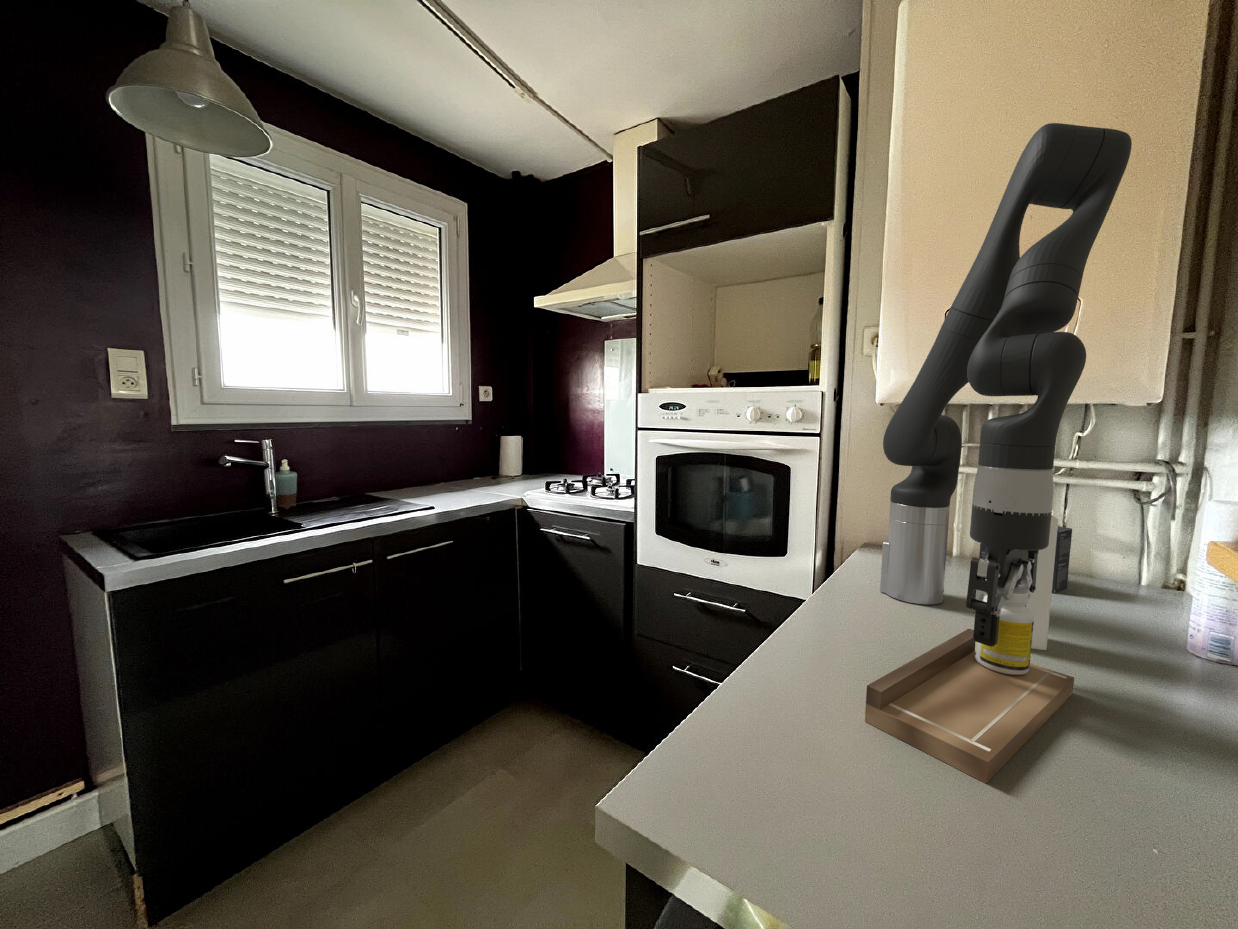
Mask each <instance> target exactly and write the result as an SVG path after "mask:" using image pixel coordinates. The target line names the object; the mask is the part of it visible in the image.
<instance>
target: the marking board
mask: <svg viewBox="0 0 1238 929" xmlns="http://www.w3.org/2000/svg"><path fill="white" fill-rule="evenodd" d="M973 634H974V629H971V628H967V629H965V630H964V631H961V632H960V633H958V634H956V635H955V636H953V637H951V638H949V639H948V640H946V641H943V642H942V643H941V644H938V645H937V646H935V647H933V648H932V649H930V650H928V651H926V652H924V653H923V654H921V655H918V656H917V657H915V658H913V659H912V660H910V661H908V662H906V663H905V664H903V665H901V666H899V667H897V668H896V669H894V670H892V671H891V672H888V673H887V674H885V675H883V676H881V677H879V678H878V679H876V680H874V681H873V682H870V683H869V684H867V685H866V694H865V712H864V722H865V723H867V724H869V725H871V726H873V727H875V728H877V729H879V730H881V731H883V732H884V733H886V734H888V735H891V736H892V737H894V738H897V739H898V740H900V741H903V742H904V743H906V744H908V745H910V746H913V747H914V748H916V749H918V750H920V751H922V752H924V753H926V754H927V755H929V756H932V757H933V758H936V759H937V760H939V761H941V762H943V763H946V764H947V765H949V766H951V767H953V768H955V769H957V770H959V771H961V772H963V773H965V774H966V775H969V776H971V777H973V778H975V779H977V780H979V781H980V782H982V783H985V784H988V783H989V782H990V780H991V779H993V778H994V777H995V775H996V774H997V773H998V772H999V771H1000V770H1001V769H1002V768H1003V767H1004V766H1006V764H1007V763H1008V762H1009V761H1010V760H1011V759H1012V757H1013V756H1015V754H1016V753H1017V752H1019V750H1021V749H1022V747H1023V746H1024V745H1025V744H1026V743H1027V742H1028V741H1029V740H1030V739H1032V737H1033V736H1034V735H1035V734H1036V732H1037V731H1038V730H1039V729H1040V728H1041V727H1042V726H1043V725H1044V724H1046V723H1047V722H1048V720H1049V719H1050V718H1051V717H1052V716H1053V715H1054V713H1056V712H1057V710H1059V709H1060V707H1062V706H1063V704H1065V703H1066V702H1067V701H1068V699H1069V698H1070V697H1071V696H1072V695H1073V694H1074V687H1075V686H1074V685H1075V677H1074V676H1071V675H1068V674H1065V673H1062V672H1059V671H1056V670H1053V669H1050V668H1046V667H1044V666H1043V667H1042V666H1040V665H1037V664H1034V663H1032V662H1030V667H1029V671H1028V673H1026V674H1023V675H1011V674H1004V673H1000V672H996V671H993V670H991V669H988V668H986V667H984V666H983V665H981V664H980V663H978V662H977V661H976V659H975V642H976V641H975V640H974V638H973Z"/></svg>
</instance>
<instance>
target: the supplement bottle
mask: <svg viewBox="0 0 1238 929" xmlns="http://www.w3.org/2000/svg"><path fill="white" fill-rule="evenodd" d="M1028 596H1029V592H1028V591H1027V590H1025V589H1023V588H1020V587H1016V588H1014V590H1013V593H1012V596H1011V599H1010V600H1006V601H1004V603H1003V606H1002V609H1001V613H1000V615H999V616H1000V619H999V630H998V641H997V644H996V645H994V646H992V647H991V646H988V645H984V644H981V643H978V642H975V659H976V661H977V662H978V663H980V664H981V665H983V666H984V667H986V668H988V669H991V670H993V671H996V672H1000V673H1004V674H1011V675H1023V674H1026V673H1028V671H1029V667H1030V663H1031V655H1032V649H1031V646H1032V635H1033V625H1034V615H1033V613H1032V612H1031V611H1030V610H1029V609H1028V608H1026V607H1025V605H1026V604H1027V603H1028ZM984 602H987V600H985V601H984Z"/></svg>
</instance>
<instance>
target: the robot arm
mask: <svg viewBox="0 0 1238 929" xmlns="http://www.w3.org/2000/svg"><path fill="white" fill-rule="evenodd" d="M1131 152H1132V137H1131V136H1130V134H1129V133H1127V132H1126V131H1123V130H1119V129H1115V128H1107V127H1095V126H1085V125H1080V124H1079V125H1077V124H1070V123H1059V122H1050V123H1049V122H1048V123H1046V124H1043V125H1042V126H1041V127H1040V128H1039V129H1037V130H1036V131H1035V133H1034V134H1032V136H1031V137H1030V139H1029V141H1028V142H1027V144H1026V145H1025V148H1024V149H1023V151H1022V152H1021V154H1020V157H1019V159H1018V160H1017V162H1016V165H1015V167H1014V169H1013V172H1012V174H1011V176H1010V178H1009V181H1008V184H1006V185H1007V186H1006V188H1005V189H1004V193H1003V195H1002V197H1001V199H1000V202H999V204H998V207H997V209H996V212H995V214H994V217H993V219H992V222H991V223H990V225H989V228H988V231H987V234H986V236H985V238H984V240H983V243H982V244H981V246H980V250H978V253H977V255H976V258H975V259H974V261H973V263H972V265H971V267H970V269H969V271H968V273H967V275H966V277H965V279H964V281H963V282H962V284H961V286H960V288H959V290H958V292H957V294H956V296H955V298H954V300H953V302H952V304H951V306H950V308H949V310H948V311H947V314H946V316H945V318H944V320H943V323H941V326H940V329H939V331H938V333H937V336H936V338H935V340H934V343H933V345H932V346H931V349H930V350H929V352H928V355H927V356H926V358H925V359H924V362H923V364H922V367H921V368H920V370H919V372H918V374H917V375H916V377H915V379H914V381H913V383H912V385H911V386H910V388H909V390H908V391H907V393H906V394H905V396H904V398H903V400H902V401H901V403H900V404H899V405H898V407H897V409H896V411H895V412H894V414H893V415H892V417H891V419H890V421H889V423H888V425H887V427H886V429H885V432H884V434H883V440H882V445H883V446H882V447H883V451H884V452H883V453H884V455H885V457H886V458H887V460H888V461H889V462H890V463H893V464H895V465H897V466H902V467H911V471H910V473H909V475H908V476H907V477H906V478H905V479H903V480H901V481H900V482H898V483H897V484H896V483H895V485H893V486H892V487H891V489H890V497H889V498H890V499H889V500H890V501H889V502H890V504H889V516H888V517H889V518H888V538H887V540H885V541H883V542H882V550H881V551H882V552H881V554H882V555H881V568H880V569H881V570H880V582H879V583H880V584H879V585H880V586H879V592H880V593H884V594H886V595H887V596H889V597H891V598H893V599H896V600H898V601H903V602H907V603H909V604H910V603H911V604H917V605H939V604H941V603H943V601H944V592H945V579H946V578H945V577H946V576H945V575H946V563H947V562H946V561H947V549H948V534H949V519H950V505H951V499H952V496H953V494H954V492H955V491H956V488H957V484H958V479H959V472H960V471H959V470H960V463H961V456H962V450H963V449H962V448H963V440H962V433H961V429H960V427H959V425H958V424H957V422H956V421H955V420H954V419H953V418H951V417H950V416H948V415H944V414H943V412H944V411H945V409H946V407H947V405H948V404H949V403H950V401H951V400H952V399H953V398H954V396H956V394H957V393H959V391H960V390H961V389H963V387H965V386H966V385H968V384H969V385H970V387H971V389H973V391H975V392H976V393H977V394H979V395H981V396H985V397H1023V396H1024V397H1025V396H1026V397H1028V396H1029V397H1030V396H1031V397H1034V396H1036V397H1037V398H1036V400H1035V403H1033V405H1032V406H1031V407H1029V409H1027V410H1025V411H1023V412H1021V413H1015V414H1010V415H1003V416H998V417H994V418H990V419H987V420H986V421H984V422H983V424H982V426H981V430H980V436H979V437H980V438H979V439H980V440H979V450H978V461H977V462H978V463H977V471H976V474H975V477H974V481H973V482H974V484H973V490H972V501H971V502H972V503H971V513H970V514H971V516H970V529H969V537H970V538H971V540H973V541H974V542H977V543H980V542H981V543H983V544H984V545H985V546H986V550H985V554H984V557H982V558H981V559H979V557H978V558H977V557H972V558H971V560H970V567H969V575H968V584H967V594H966V602H965V606H966V608H967V609H970V610H973V611H975V612H974V613H975V614H974V622H973V623H974V624H973V630H974V634H973V638H974V640H975V641H976V642H978V643H981V644H984V645H988V646H991V647H992V646H994V645H996V644H997V641H998V630H999V619H1000V616H999V615H1000V613H1001V609H1002V606H1003V603H1004V601H1006V600H1010V599H1011V596H1012V593H1013V590H1014V588H1016V587H1020V588H1023V589H1025V590H1027V591H1028V592H1029V596H1028V600H1029V598H1030V592H1032V593H1033V592H1034V591H1035V590H1036V573H1037V560H1038V553H1039V550H1042V549H1045V548H1047V547H1048V545H1049V536H1050V526H1051V516H1053V515H1052V513H1053V512H1052V511H1053V502H1054V495H1055V493H1054V492H1055V484H1054V464H1055V463H1054V462H1055V453H1056V444H1057V436H1058V431H1059V428H1060V425H1061V424H1060V423H1061V420H1062V417H1063V415H1064V412H1065V410H1066V407H1067V405H1068V403H1069V401H1070V398H1071V396H1072V394H1073V392H1074V390H1075V389H1076V386H1077V385H1078V382H1079V380H1080V378H1081V376H1082V374H1083V371H1084V369H1085V365H1086V362H1087V351H1086V347H1085V345H1084V342H1082V339H1081V338H1079V337H1078V335H1075V334H1074V333H1072V332H1069V331H1059V330H1061V329H1063V328H1065V327H1066V326H1067V325H1069V323H1070V322H1071V320H1072V319H1073V317H1074V315H1075V312H1076V309H1077V305H1078V300H1079V296H1080V295H1079V294H1080V292H1081V291H1080V290H1081V286H1082V281H1083V277H1084V272H1085V268H1086V264H1087V261H1088V258H1089V255H1090V252H1091V250H1092V248H1093V247H1094V246H1093V245H1094V243H1095V242H1096V239H1097V236H1098V234H1099V232H1100V230H1101V228H1102V226H1103V224H1104V221H1105V219H1106V216H1107V215H1108V212H1109V210H1110V207H1111V206H1112V203H1113V200H1114V197H1115V195H1116V194H1117V191H1118V188H1119V187H1120V183H1121V181H1122V179H1123V176H1124V173H1125V171H1126V170H1127V166H1128V164H1129V160H1130V157H1131ZM1030 205H1034V206H1040V207H1048V208H1053V209H1061V210H1072V214H1071V215H1070V216H1069V217H1068V218H1067V219H1066V220H1065V221H1064V222H1062V223H1061V224H1059V226H1057V227H1056V228H1055V229H1053V230H1052V231H1050V232H1048V233H1047V234H1046V235H1045V236H1044V237H1042V238H1040V239H1039V240H1038V241H1036V242H1035V243H1034V244H1032V245H1031V246H1030V247H1029V248H1027V250H1025V252H1024V253H1023V254H1022V255H1021V256H1020V254H1021V252H1020V240H1021V239H1020V238H1021V231H1022V226H1023V222H1024V218H1025V215H1026V212H1027V209H1028V207H1029V206H1030ZM986 595H987V602H984V601H983V599H984V597H985V596H986ZM1025 607H1026V605H1025Z"/></svg>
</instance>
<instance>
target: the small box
mask: <svg viewBox="0 0 1238 929" xmlns="http://www.w3.org/2000/svg"><path fill="white" fill-rule="evenodd" d="M1072 536H1073V528H1072V527H1071V528H1070V527H1066V526H1058V529H1057V540H1056V551H1055V562H1054V573H1053V584H1052V593H1054V594H1055V593H1057V592H1059V591H1060V592H1061V591H1063V590H1065V589H1067V588H1068V581H1069V566H1070V558H1071V549H1072V548H1071V547H1072ZM979 543H980V545H979V554H978V555H979V556H978V559H981V558H982V557H984V554H985V550H986V546H985V545H984V544H983V543H981V542H979Z"/></svg>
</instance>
